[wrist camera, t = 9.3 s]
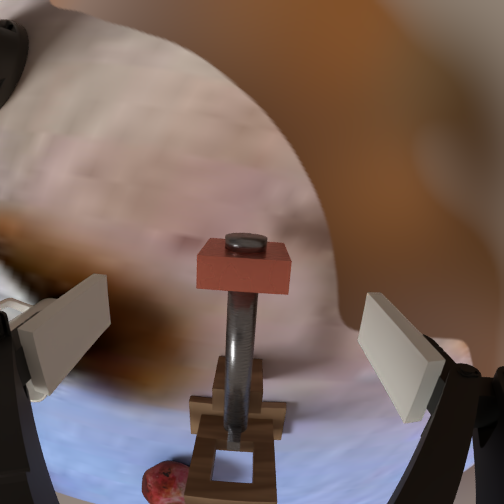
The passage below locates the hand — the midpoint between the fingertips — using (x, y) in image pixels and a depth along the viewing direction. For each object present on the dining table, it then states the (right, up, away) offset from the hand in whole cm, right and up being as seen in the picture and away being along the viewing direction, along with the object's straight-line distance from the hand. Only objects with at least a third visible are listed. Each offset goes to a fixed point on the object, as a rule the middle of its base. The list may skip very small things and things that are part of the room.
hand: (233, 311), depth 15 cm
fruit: (-11, -31, +26) cm, 42 cm away
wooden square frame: (-1, -19, +23) cm, 29 cm away
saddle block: (-1, -11, +21) cm, 24 cm away
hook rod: (0, -5, +15) cm, 15 cm away
